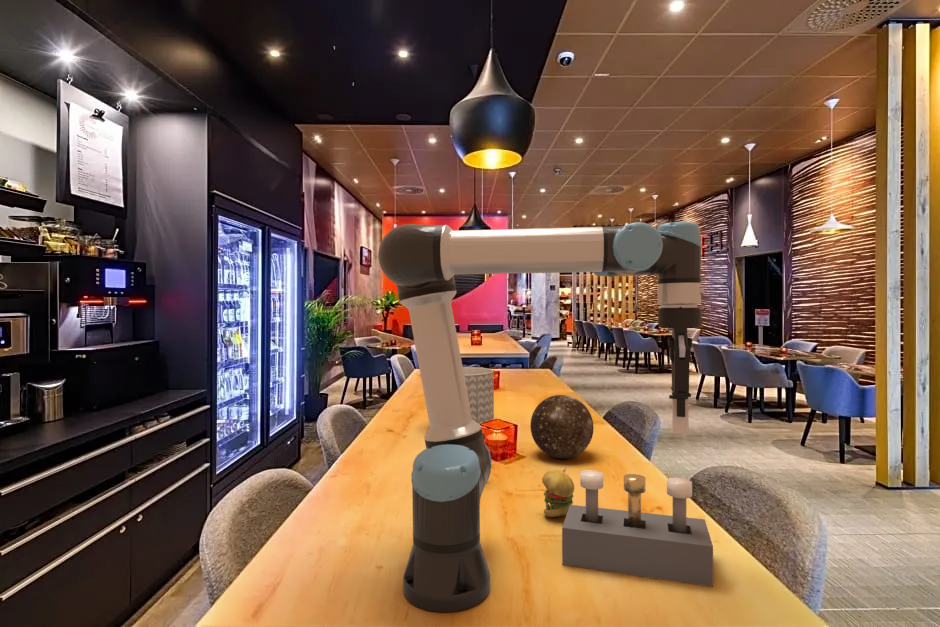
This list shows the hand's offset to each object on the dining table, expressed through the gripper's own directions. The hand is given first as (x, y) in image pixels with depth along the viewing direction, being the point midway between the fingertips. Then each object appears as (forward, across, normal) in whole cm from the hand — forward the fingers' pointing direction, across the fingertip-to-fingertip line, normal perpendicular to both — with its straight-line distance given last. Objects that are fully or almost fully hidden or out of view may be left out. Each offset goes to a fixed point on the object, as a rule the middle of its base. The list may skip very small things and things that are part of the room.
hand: (680, 432), depth 97 cm
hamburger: (+25, +16, +25) cm, 39 cm away
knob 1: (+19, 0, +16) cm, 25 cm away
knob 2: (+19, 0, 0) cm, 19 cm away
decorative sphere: (+25, +64, +31) cm, 75 cm away
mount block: (+25, 0, +8) cm, 26 cm away
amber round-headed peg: (+19, 0, +8) cm, 20 cm away
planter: (+25, +87, +73) cm, 116 cm away
